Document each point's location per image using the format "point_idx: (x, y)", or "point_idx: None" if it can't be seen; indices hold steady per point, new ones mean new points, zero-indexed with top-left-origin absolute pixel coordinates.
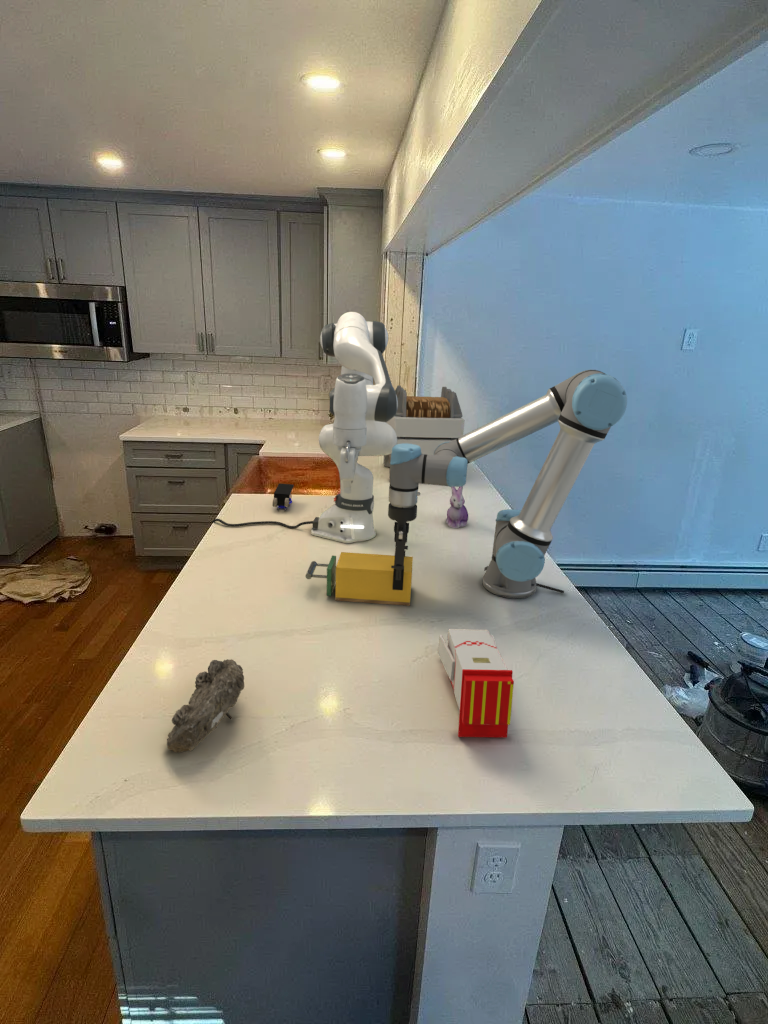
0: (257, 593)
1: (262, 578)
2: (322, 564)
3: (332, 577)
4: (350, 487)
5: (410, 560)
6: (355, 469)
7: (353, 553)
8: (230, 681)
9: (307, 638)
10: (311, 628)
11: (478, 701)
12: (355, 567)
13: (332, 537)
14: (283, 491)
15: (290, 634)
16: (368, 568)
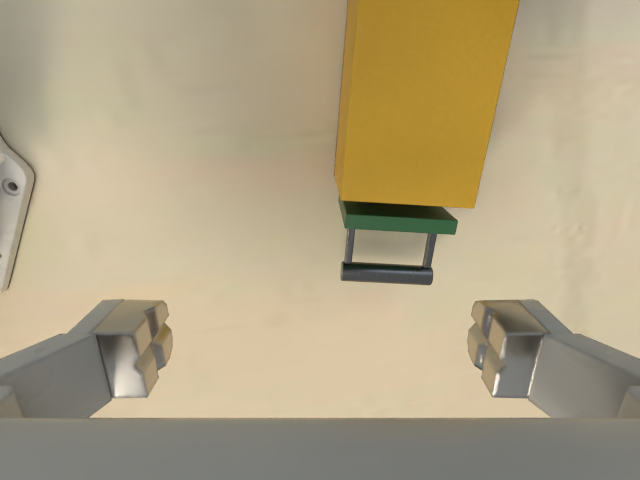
0: (396, 358)
1: (320, 363)
2: (352, 246)
3: (418, 206)
4: (570, 334)
5: None
6: (461, 463)
7: (351, 152)
8: None
9: (610, 227)
10: (568, 224)
11: None
12: (481, 137)
13: (15, 228)
14: None
15: (586, 265)
16: (493, 83)
